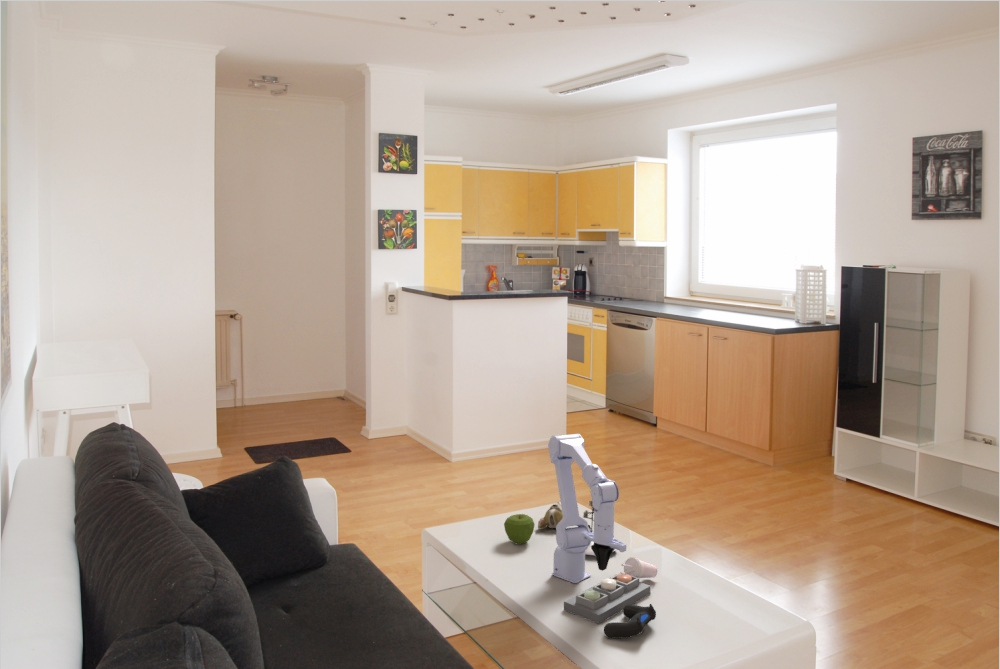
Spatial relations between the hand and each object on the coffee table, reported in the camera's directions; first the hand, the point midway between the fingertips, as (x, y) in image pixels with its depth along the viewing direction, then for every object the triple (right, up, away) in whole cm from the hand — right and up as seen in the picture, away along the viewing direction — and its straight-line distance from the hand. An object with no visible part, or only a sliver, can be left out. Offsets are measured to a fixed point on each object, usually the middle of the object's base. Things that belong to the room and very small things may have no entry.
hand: (602, 569), depth 224 cm
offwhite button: (+2, -5, -1) cm, 6 cm away
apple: (-23, -5, +45) cm, 51 cm away
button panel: (+2, -9, 0) cm, 10 cm away
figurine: (+2, -6, +40) cm, 41 cm away
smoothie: (+18, -6, +16) cm, 25 cm away
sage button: (-4, -7, -6) cm, 10 cm away
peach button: (+7, -6, +5) cm, 11 cm away
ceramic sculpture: (-10, -3, +61) cm, 62 cm away
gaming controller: (+5, -12, -17) cm, 21 cm away
